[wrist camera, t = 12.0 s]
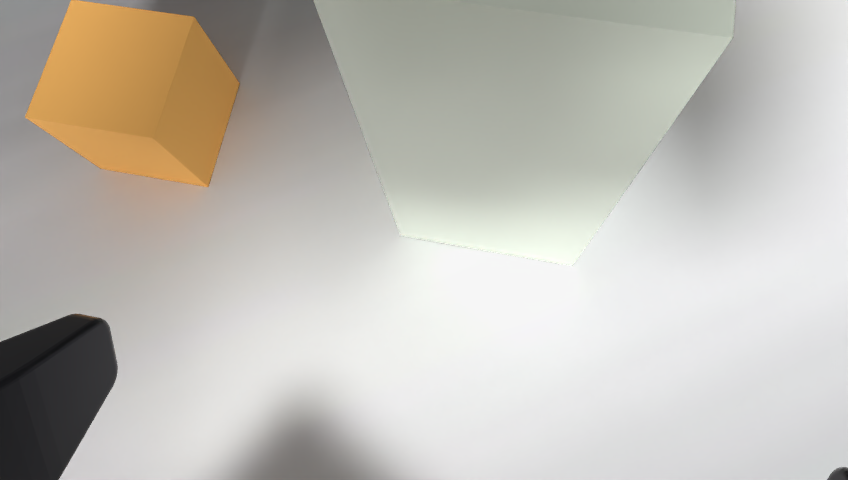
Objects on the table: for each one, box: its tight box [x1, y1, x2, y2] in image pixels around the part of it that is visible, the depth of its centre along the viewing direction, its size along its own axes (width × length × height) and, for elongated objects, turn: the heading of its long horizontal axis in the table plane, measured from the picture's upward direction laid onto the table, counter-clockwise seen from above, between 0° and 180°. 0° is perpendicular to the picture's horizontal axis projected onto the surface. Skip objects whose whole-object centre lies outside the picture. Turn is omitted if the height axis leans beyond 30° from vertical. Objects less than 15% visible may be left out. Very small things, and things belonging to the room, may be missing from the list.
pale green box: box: [313, 0, 736, 266], centre depth 15 cm, size 6×6×12 cm
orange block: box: [25, 0, 240, 187], centre depth 20 cm, size 4×4×4 cm
